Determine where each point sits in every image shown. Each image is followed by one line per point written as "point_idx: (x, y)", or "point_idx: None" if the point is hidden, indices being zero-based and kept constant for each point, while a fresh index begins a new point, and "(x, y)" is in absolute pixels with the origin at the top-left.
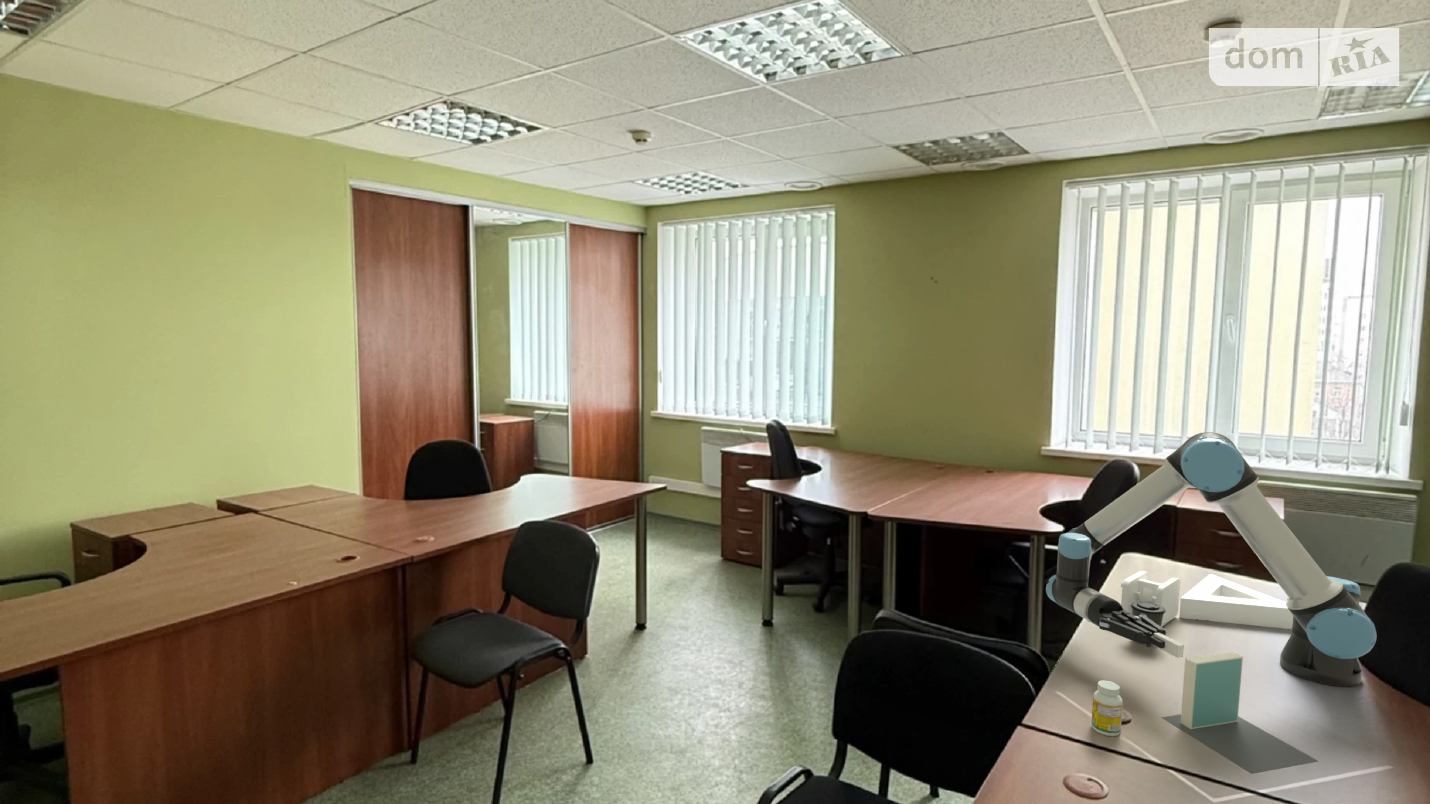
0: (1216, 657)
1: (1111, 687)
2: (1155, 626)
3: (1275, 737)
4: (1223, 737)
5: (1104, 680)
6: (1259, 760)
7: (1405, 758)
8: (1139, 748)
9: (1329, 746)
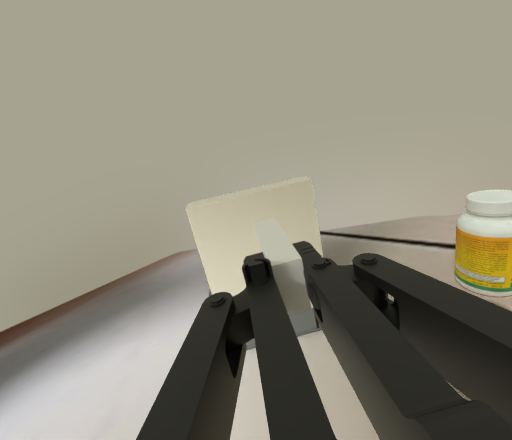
0: (243, 192)
1: (485, 192)
2: (218, 336)
3: (210, 290)
4: None
5: (508, 200)
6: None
7: (115, 283)
8: (423, 256)
9: (161, 290)
